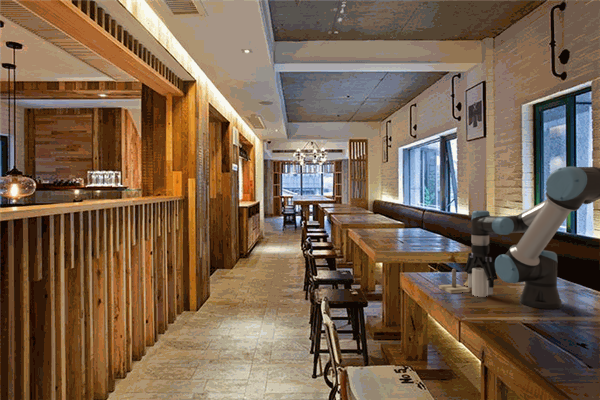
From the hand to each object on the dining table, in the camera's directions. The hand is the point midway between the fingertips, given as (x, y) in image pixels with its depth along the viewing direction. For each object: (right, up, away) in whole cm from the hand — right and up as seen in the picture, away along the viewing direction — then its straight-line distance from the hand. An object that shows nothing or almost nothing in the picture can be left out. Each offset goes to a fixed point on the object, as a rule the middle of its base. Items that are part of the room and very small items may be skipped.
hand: (480, 290), depth 188 cm
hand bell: (+4, -2, +18) cm, 18 cm away
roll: (0, -2, 0) cm, 2 cm away
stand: (-8, -2, +9) cm, 13 cm away
